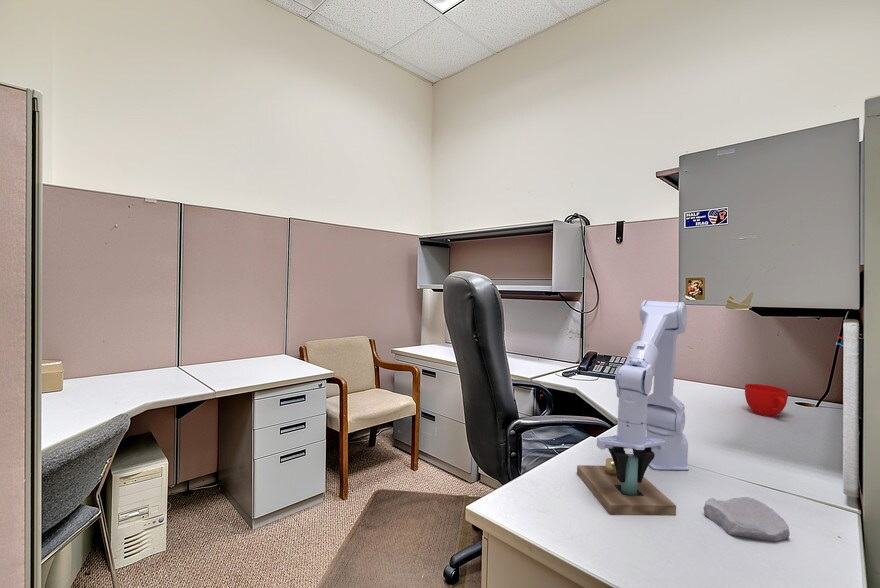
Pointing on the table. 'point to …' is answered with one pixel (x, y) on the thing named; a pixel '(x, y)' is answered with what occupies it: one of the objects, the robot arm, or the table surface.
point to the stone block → (747, 518)
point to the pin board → (612, 498)
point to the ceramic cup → (766, 399)
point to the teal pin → (630, 476)
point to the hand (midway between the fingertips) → (629, 480)
